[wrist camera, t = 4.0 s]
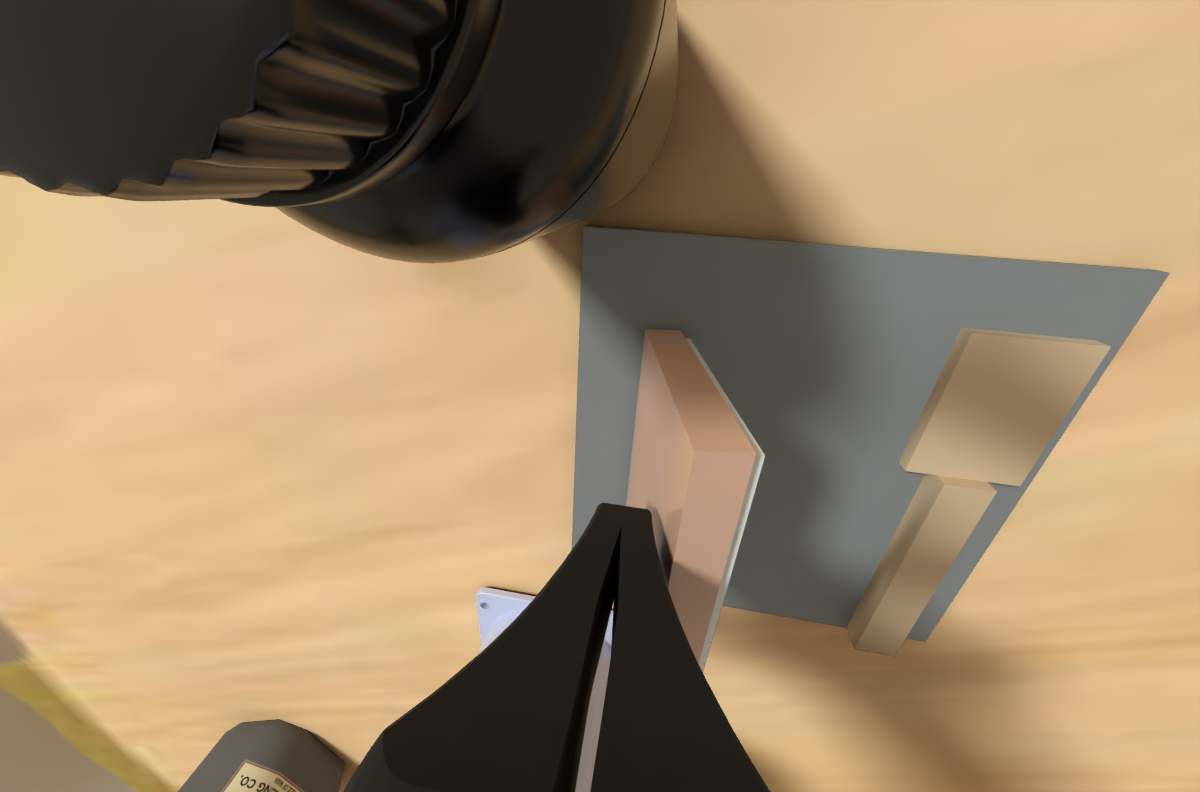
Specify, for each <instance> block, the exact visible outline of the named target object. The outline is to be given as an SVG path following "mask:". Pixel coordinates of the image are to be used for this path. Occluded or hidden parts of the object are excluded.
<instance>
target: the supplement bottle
mask: <svg viewBox="0 0 1200 792" xmlns="http://www.w3.org/2000/svg"><path fill="white" fill-rule="evenodd" d="M678 70H679V51H678V28H677V5H676V0H0V175H4V176H11V177H19V178H23V179H25V180H26V181H28V182H29V183H31V184H33V185H35V186H37V187H39V188H41V189H43V190H45V191H48V192H54V193H60V194H66V195H74V196H107V197H112V198H118V199H125V200H133V201H172V200H200V199H221V200H225V201H229V202H233V203H239V204H244V205H252V206H264V207H276V208H277V209H279V210H280V211H281V212H283V213H284V214H286V215H287V216H289V217H290V218H292V219H294V220H295V221H297V222H299V223H301V224H302V225H304V226H306V227H307V228H309V229H311V230H313V231H315V232H317V233H319V234H321V235H323V236H325V237H327V238H329V239H331V240H333V241H335V242H337V243H340V244H342V245H345V246H348V247H350V248H353V249H356V250H358V251H361V252H364V253H367V254H371V255H375V256H378V257H382V258H386V259H392V260H399V261H405V262H413V263H447V262H456V261H462V260H467V259H473V258H478V257H483V256H487V255H490V254H493V253H497V252H500V251H503V250H506V249H509V248H512V247H514V246H517V245H520V244H522V243H525V242H527V241H530V240H533V239H535V238H538V237H540V236H543V235H545V234H548V233H551V232H553V231H556V230H558V229H561V228H564V227H566V226H569V225H571V224H574V223H577V222H579V221H582V220H584V219H587V218H589V217H592V216H594V215H596V214H598V213H600V212H602V211H604V210H606V209H608V208H609V207H611V206H613V205H614V204H616V203H617V202H618V201H620V200H621V199H622V198H624V197H625V196H626V195H627V194H628V193H629V192H631V190H632V189H633V188H634V187H635V186H636V185H637V184H638V183H639V182H640V181H641V179H642V178H643V177H644V176H645V174H646V173H647V172H648V170H649V169H650V167H651V166H652V164H653V163H654V161H655V159H656V157H657V155H658V154H659V152H660V150H661V148H662V145H663V143H664V141H665V138H666V136H667V133H668V130H669V127H670V124H671V120H672V116H673V112H674V108H675V102H676V96H677V87H678Z"/></svg>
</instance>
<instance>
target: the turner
mask: <svg viewBox="0 0 1200 792" xmlns="http://www.w3.org/2000/svg"><path fill="white" fill-rule="evenodd" d="M1110 348H1111V346H1108V345H1106V344H1103V343H1101V342H1098V341H1095V340H1084V339H1074V338H1064V337H1053V336H1043V335H1033V334H1022V333H1012V332H1002V331H991V330H981V329H971V328H962V329H961V331H960V333H959V335H958V337H957V339H956V341H955V343H954V346H953V348H952V350H951V352H950V354H949V356H948V358H947V361H946V363H945V365H944V367H943V369H942V371H941V373H940V376H939V378H938V380H937V382H936V384H935V386H934V388H933V390H932V393H931V395H930V397H929V399H928V401H927V403H926V405H925V408H924V410H923V412H922V414H921V416H920V418H919V420H918V422H917V425H916V427H915V429H914V431H913V433H912V435H911V437H910V440H909V442H908V444H907V446H906V448H905V450H904V452H903V455H902V457H901V459H900V461H899V463H900V465H901V466H902V467H903V469H904V470H905V471H909V472H917V473H924V474H925V475H924V477H923V479H922V481H921V483H920V485H919V487H918V489H917V491H916V493H915V495H914V497H913V499H912V501H911V503H910V505H909V507H908V509H907V511H906V513H905V514H904V516H903V518H902V520H901V522H900V524H899V526H898V528H897V530H896V532H895V534H894V536H893V538H892V540H891V542H890V544H889V546H888V548H887V550H886V552H885V554H884V556H883V558H882V559H881V561H880V563H879V565H878V567H877V569H876V571H875V573H874V575H873V577H872V579H871V581H870V583H869V585H868V587H867V589H866V591H865V593H864V595H863V597H862V599H861V601H860V602H859V604H858V606H857V608H856V610H855V612H854V614H853V616H852V618H851V620H850V622H849V624H848V626H847V630H848V633H849V636H850V638H851V641H852V644H853V646H854V649H856V650H861V651H867V652H872V653H878V654H883V655H889V656H895V655H896V653H897V651H898V650H899V648H900V647H901V645H902V643H903V642H904V640H905V639H906V637H907V635H908V634H909V632H910V631H911V629H912V627H913V626H914V624H915V622H916V621H917V619H918V618H919V616H920V614H921V613H922V611H923V610H924V608H925V606H926V605H927V603H928V602H929V600H930V598H931V597H932V595H933V594H934V592H935V590H936V589H937V587H938V586H939V584H940V582H941V581H942V579H943V578H944V576H945V574H946V573H947V571H948V570H949V568H950V566H951V565H952V563H953V562H954V560H955V558H956V557H957V555H958V554H959V552H960V550H961V549H962V547H963V546H964V544H965V542H966V541H967V539H968V538H969V536H970V534H971V533H972V531H973V530H974V528H975V526H976V525H977V523H978V522H979V520H980V518H981V517H982V515H983V514H984V512H985V510H986V509H987V507H988V506H989V504H990V502H991V501H992V499H993V498H994V496H995V494H996V493H997V491H996V490H995V489H994V488H993V487H992V486H991V485H990V484H989V483H988V482H991V483H998V484H1006V485H1013V486H1021V484H1022V483H1023V481H1024V480H1025V478H1026V477H1027V475H1028V474H1029V472H1030V471H1031V469H1032V468H1033V466H1034V464H1035V463H1036V461H1037V460H1038V458H1039V457H1040V455H1041V454H1042V452H1043V451H1044V449H1045V448H1046V446H1047V445H1048V443H1049V441H1050V440H1051V438H1052V437H1053V435H1054V434H1055V432H1056V431H1057V429H1058V428H1059V426H1060V425H1061V423H1062V421H1063V420H1064V418H1065V417H1066V415H1067V414H1068V412H1069V411H1070V409H1071V408H1072V406H1073V405H1074V403H1075V402H1076V400H1077V398H1078V397H1079V395H1080V394H1081V392H1082V391H1083V389H1084V388H1085V386H1086V385H1087V383H1088V382H1089V380H1090V379H1091V377H1092V375H1093V374H1094V372H1095V371H1096V369H1097V368H1098V366H1099V365H1100V363H1101V362H1102V360H1103V359H1104V357H1105V356H1106V354H1107V352H1108V351H1109V349H1110Z"/></svg>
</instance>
